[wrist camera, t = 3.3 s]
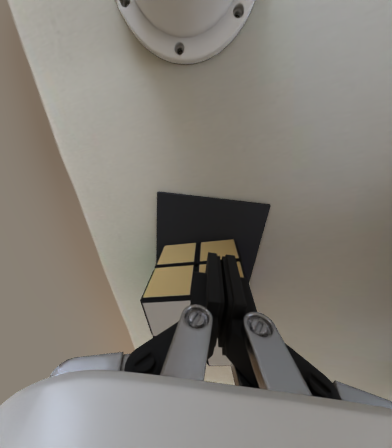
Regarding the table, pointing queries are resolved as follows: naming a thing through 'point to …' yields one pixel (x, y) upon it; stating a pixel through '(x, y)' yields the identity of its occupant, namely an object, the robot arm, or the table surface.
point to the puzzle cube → (182, 285)
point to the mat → (210, 223)
